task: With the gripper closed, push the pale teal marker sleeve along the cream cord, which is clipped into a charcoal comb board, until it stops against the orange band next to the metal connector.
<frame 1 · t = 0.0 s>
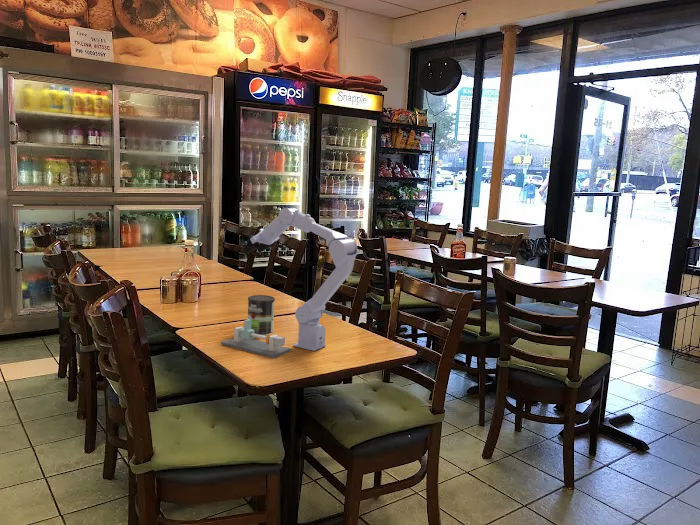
hand: (252, 250, 214), 32 cm above the table, tool tilted 50°, fingers open, 7 cm apart
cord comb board: (255, 347, 200), on the table
marker sleeve: (247, 328, 201), point 6 cm above the table, slide at 0.0 cm
coffee can: (260, 333, 219), on the table
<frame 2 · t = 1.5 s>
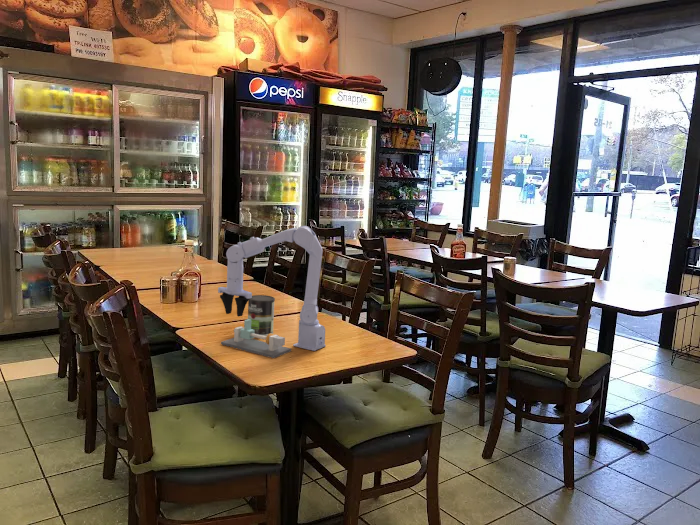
hand: (234, 314, 204), 10 cm above the table, tool pointing down, fingers open, 5 cm apart
nothing on the table moved.
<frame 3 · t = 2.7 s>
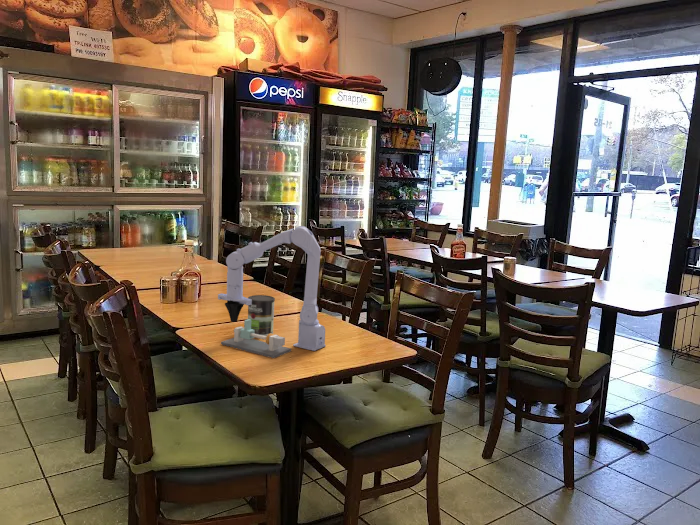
hand: (234, 321, 204), 8 cm above the table, tool pointing down, fingers closed
nothing on the table moved.
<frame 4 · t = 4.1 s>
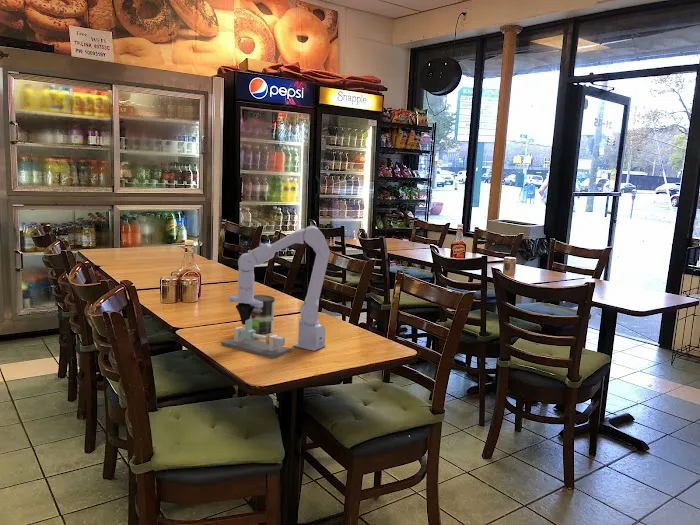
hand: (245, 323, 201), 8 cm above the table, tool pointing down, fingers closed
marker sleeve: (248, 329, 201), point 6 cm above the table, slide at 0.5 cm, touching gripper
everything else where it was.
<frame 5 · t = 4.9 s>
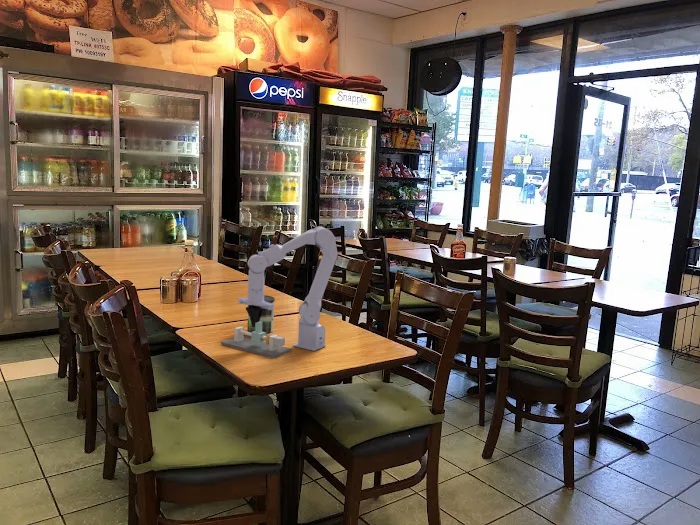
hand: (255, 326, 199), 8 cm above the table, tool pointing down, fingers closed
marker sleeve: (258, 331, 198), point 6 cm above the table, slide at 5.1 cm, touching gripper
everything else where it was.
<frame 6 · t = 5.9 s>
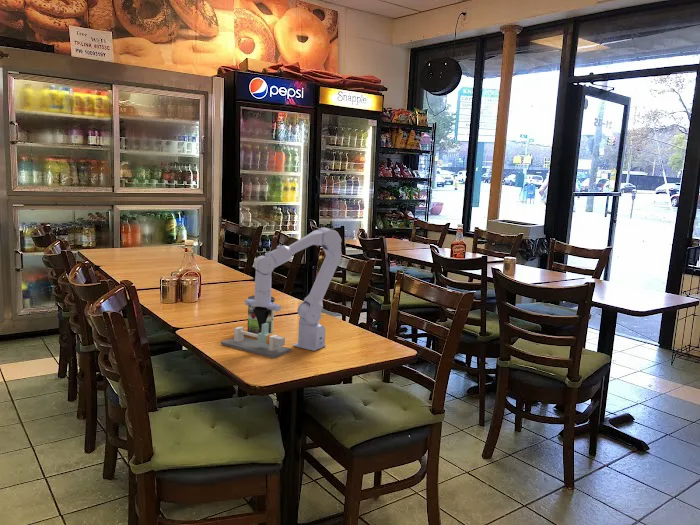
hand: (261, 327, 198), 8 cm above the table, tool pointing down, fingers closed
marker sleeve: (264, 332, 197), point 6 cm above the table, slide at 7.9 cm, touching gripper
everything else where it was.
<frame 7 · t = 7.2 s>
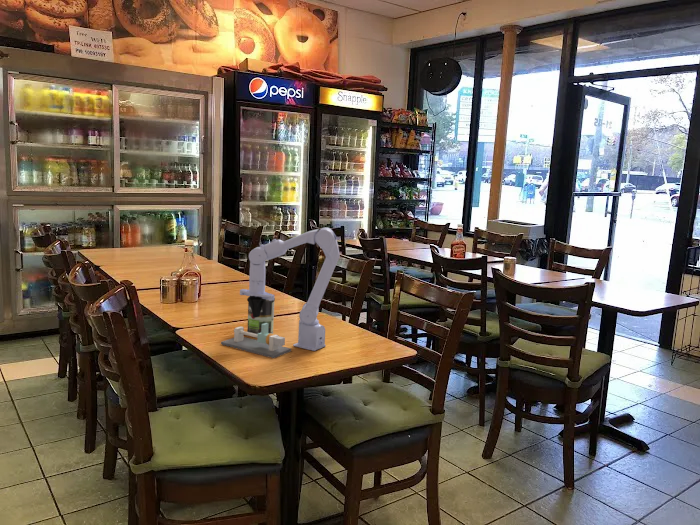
hand: (256, 316, 204), 10 cm above the table, tool pointing down, fingers closed
marker sleeve: (264, 332, 197), point 6 cm above the table, slide at 7.9 cm
everything else where it was.
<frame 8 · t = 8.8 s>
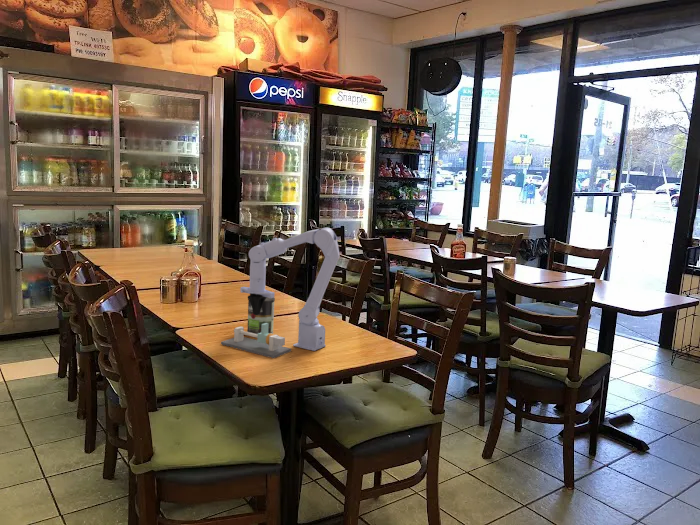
hand: (256, 314, 206), 10 cm above the table, tool pointing down, fingers closed
nothing on the table moved.
at the end: marker sleeve slide at 7.9 cm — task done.
